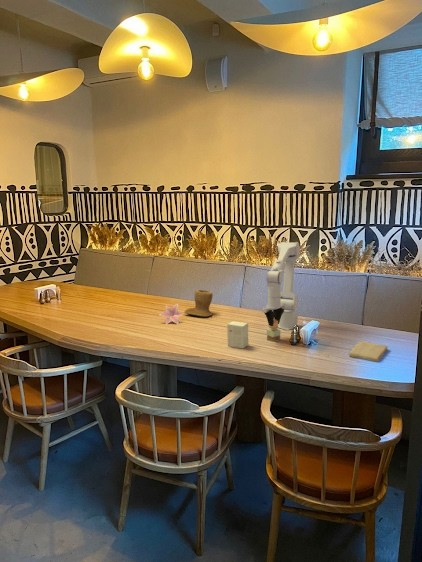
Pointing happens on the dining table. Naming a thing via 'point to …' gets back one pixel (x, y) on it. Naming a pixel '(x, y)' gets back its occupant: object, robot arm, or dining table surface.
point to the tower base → (273, 338)
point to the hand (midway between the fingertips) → (273, 324)
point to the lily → (171, 314)
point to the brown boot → (201, 304)
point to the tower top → (273, 332)
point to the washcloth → (368, 351)
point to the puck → (274, 325)
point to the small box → (237, 334)
